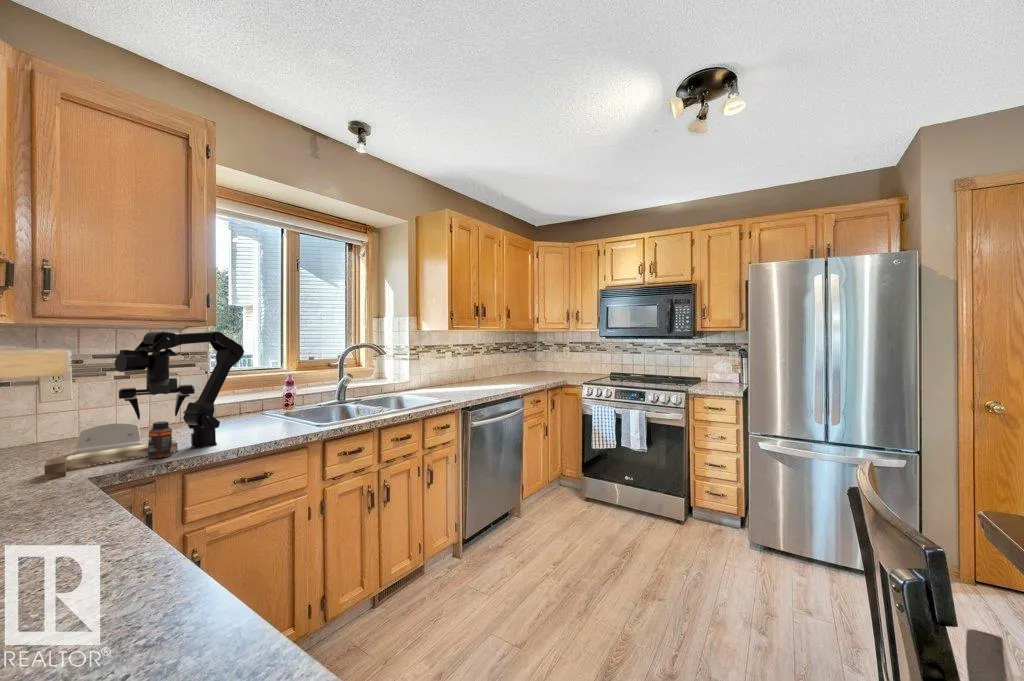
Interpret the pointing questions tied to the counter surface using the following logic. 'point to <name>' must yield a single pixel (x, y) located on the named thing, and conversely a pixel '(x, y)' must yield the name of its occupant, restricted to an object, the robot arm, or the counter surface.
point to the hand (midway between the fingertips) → (157, 417)
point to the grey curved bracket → (108, 438)
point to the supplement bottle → (160, 440)
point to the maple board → (110, 455)
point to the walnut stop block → (55, 468)
